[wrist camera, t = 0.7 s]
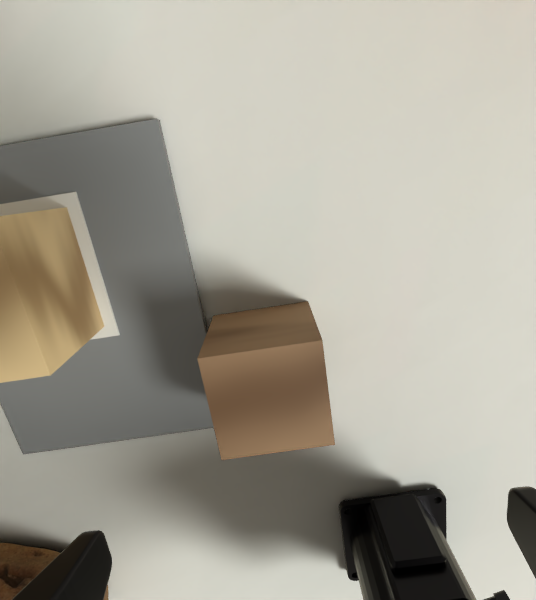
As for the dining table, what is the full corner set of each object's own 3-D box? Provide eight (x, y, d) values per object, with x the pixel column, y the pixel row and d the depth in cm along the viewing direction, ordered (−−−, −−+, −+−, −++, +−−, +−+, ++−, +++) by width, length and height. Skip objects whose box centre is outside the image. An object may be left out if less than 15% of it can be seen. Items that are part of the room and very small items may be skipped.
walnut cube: (318, 384, 21) (334, 444, 16) (231, 396, 21) (221, 460, 16) (307, 300, 19) (322, 340, 14) (213, 314, 19) (197, 358, 15)
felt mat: (227, 421, 21) (226, 427, 21) (27, 449, 22) (22, 455, 21) (159, 120, 16) (156, 118, 16) (-97, 164, 17) (-108, 163, 16)
